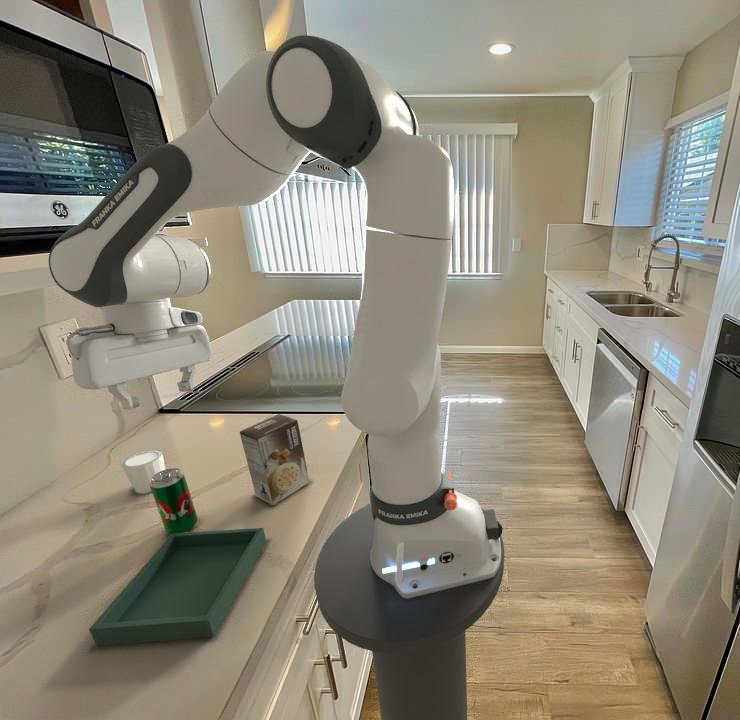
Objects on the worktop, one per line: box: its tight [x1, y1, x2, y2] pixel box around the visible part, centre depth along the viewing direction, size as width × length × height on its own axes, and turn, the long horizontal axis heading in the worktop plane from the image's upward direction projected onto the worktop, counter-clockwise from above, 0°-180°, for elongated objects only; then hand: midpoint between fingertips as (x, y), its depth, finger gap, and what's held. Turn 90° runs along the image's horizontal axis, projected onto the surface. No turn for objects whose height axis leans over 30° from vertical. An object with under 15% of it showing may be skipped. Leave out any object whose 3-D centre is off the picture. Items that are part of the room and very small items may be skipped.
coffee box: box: [239, 413, 310, 506], centre depth 84 cm, size 9×6×16 cm
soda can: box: [150, 467, 199, 536], centre depth 74 cm, size 5×5×12 cm
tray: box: [88, 527, 267, 647], centre depth 63 cm, size 16×18×3 cm
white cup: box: [121, 450, 166, 494], centre depth 87 cm, size 7×7×7 cm
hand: (160, 399), depth 69 cm, fingers open, 8 cm apart
